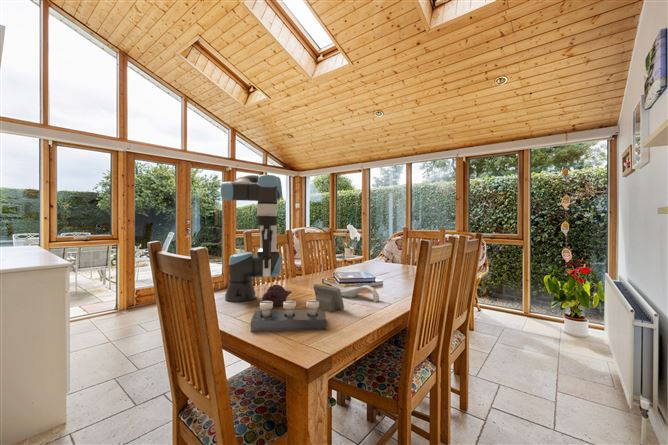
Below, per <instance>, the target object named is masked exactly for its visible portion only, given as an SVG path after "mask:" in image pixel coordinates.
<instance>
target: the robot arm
mask: <svg viewBox="0 0 668 445" xmlns="http://www.w3.org/2000/svg"><path fill="white" fill-rule="evenodd" d="M282 187H283V186H282V181H281V178H280V177H279V176H276V175H274V174H260V175H254V174H250V175H245V176H240V177H238V178H236V179H234V181H223V182H222V183H221V184H220V197H221V199H222V200H223V201H247V202H249V201H253V202H257V205H256V207H257V208H256V210H257V212H256V213H257V219H256V220H257V222H256V223H257V225H258V226H260V227H259V231H260V232H259V248H258V250H257V251H256V254H254V253H253V252H252V251H250V252H249V251H248V252H247V251H245V252H237V253H235V254H231V255H230V257H229V258H228V285H227V288H226V292H225V294H224V299H225V301H227V302H234V303H235V302H237V303H239V302H240V303H241V302H248V301H252V300H255V299H256V294H257V293H256V291H255V287H254V285H253V279H254V278H255V279H256V278H270V279H271V278H277V277H279V276H280V273H281V268H282V263H283V262H282V260H283V255H282V254H280V250H279V249H278V248H277V242H278V241H277V239H278V238H277V234H278V233H277V230H278V228H277V226H278V210H280V208H279V207H278V204H279V202H280V200H281V199H282V198H283V188H282Z"/></svg>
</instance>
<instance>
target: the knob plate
mask: <svg viewBox="0 0 668 445" xmlns="http://www.w3.org/2000/svg"><path fill="white" fill-rule="evenodd" d="M327 325H328V324H327V316H326V312H325V310H322V309H316V316H309V309H297V310H296V309H294V316H293V317H286V309H285V310H270V317H262V310H255V311H254V313H253V314H252V317H251V319H250V332H251V333H261V332H288V331H289V332H292V331H293V332H294V331H295V332H297V331H301V332H302V331H327Z"/></svg>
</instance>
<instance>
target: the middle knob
mask: <svg viewBox="0 0 668 445" xmlns="http://www.w3.org/2000/svg"><path fill="white" fill-rule="evenodd" d="M282 305H283V306H282V308H283V309H285V310H286V317H293V316H294V310H296V308H297V301H295V300H286V301H285V302H283V304H282Z"/></svg>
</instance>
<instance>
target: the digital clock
mask: <svg viewBox="0 0 668 445" xmlns="http://www.w3.org/2000/svg"><path fill="white" fill-rule="evenodd" d="M340 289H341V288H339V287H333V286H330V285H325V284H319V283H314V284H313V291H314V295H315V300H316V301H319V308H318V310H324V311H326V312H333V311H335V310H340V311H344V309H345V304H344V300H343V296H342V295H341V291H340Z"/></svg>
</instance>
